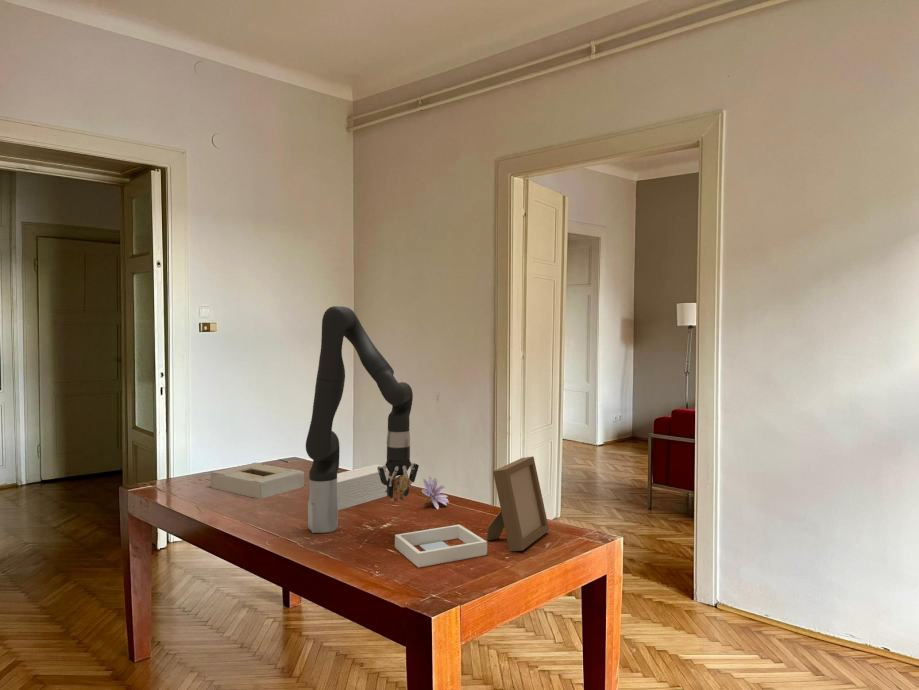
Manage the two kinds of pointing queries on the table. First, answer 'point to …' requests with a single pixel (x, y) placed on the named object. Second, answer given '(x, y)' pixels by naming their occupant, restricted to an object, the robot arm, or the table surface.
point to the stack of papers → (360, 486)
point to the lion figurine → (400, 486)
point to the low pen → (440, 545)
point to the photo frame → (519, 505)
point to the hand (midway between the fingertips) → (397, 496)
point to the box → (257, 480)
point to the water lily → (434, 492)
